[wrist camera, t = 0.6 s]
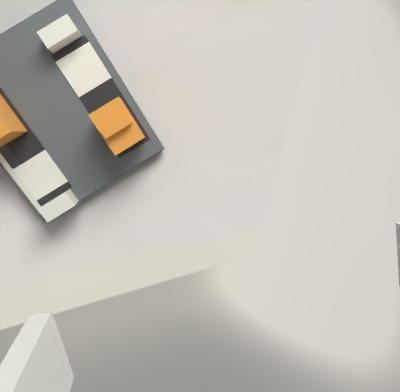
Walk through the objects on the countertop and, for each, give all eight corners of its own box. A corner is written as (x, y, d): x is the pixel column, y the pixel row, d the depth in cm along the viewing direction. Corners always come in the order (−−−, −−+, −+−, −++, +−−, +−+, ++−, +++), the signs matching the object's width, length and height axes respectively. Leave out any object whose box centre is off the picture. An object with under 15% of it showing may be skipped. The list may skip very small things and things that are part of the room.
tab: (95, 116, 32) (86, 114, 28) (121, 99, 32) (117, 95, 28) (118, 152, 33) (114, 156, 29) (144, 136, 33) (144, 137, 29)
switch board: (-59, 77, 31) (-84, 71, 28) (71, -1, 32) (62, -16, 28) (48, 218, 35) (38, 228, 32) (163, 147, 36) (165, 149, 32)
